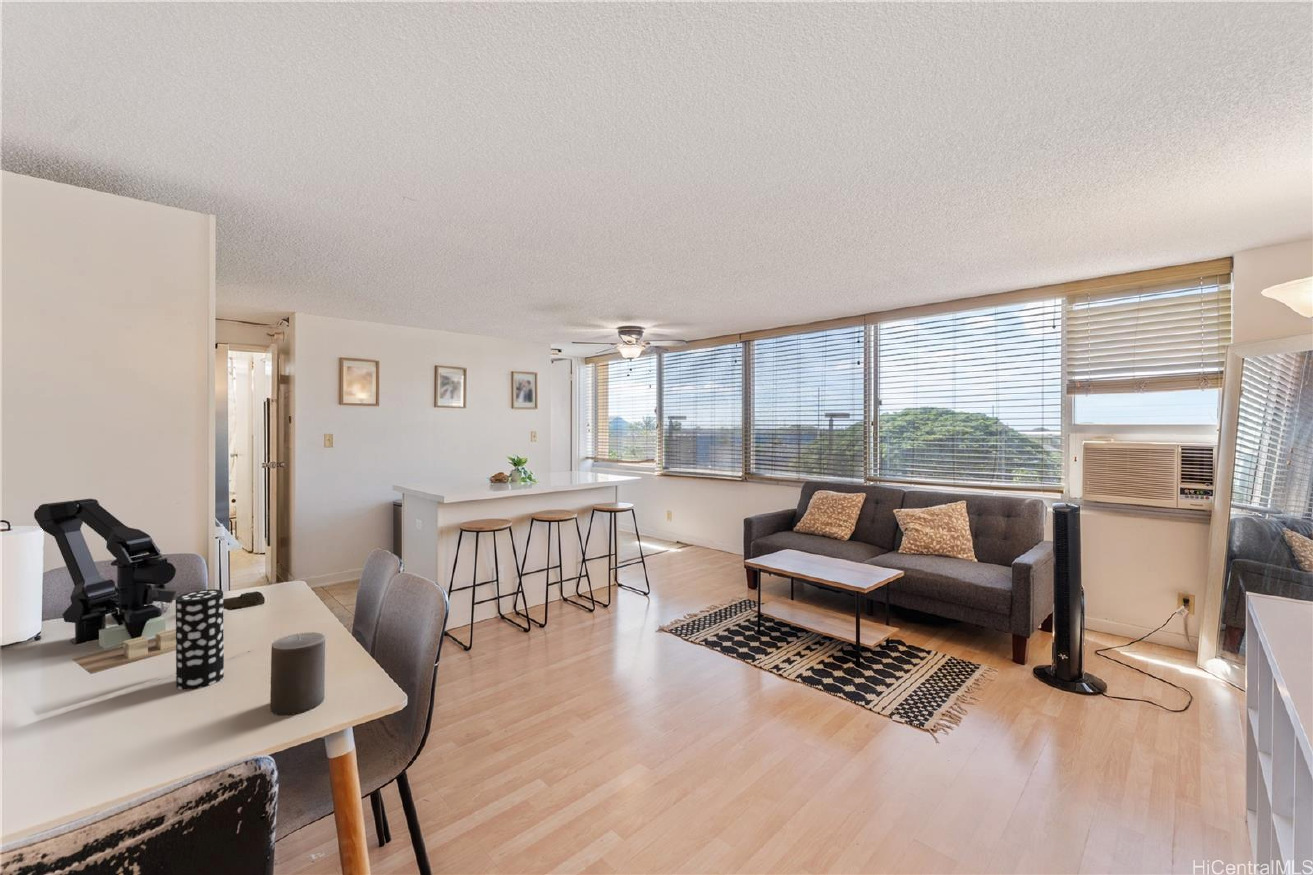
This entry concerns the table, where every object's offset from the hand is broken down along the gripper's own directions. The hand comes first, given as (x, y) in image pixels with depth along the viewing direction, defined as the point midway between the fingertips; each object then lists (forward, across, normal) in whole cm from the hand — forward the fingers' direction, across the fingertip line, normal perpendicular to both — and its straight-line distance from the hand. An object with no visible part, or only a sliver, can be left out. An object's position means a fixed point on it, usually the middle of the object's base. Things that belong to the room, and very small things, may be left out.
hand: (133, 640), depth 143 cm
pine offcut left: (0, -13, +3) cm, 13 cm away
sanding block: (+1, 0, 0) cm, 1 cm away
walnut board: (+1, -11, 0) cm, 11 cm away
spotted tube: (+2, -39, -1) cm, 39 cm away
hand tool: (+2, +11, -25) cm, 27 cm away
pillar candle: (+2, -68, -8) cm, 68 cm away
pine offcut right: (0, -13, -3) cm, 13 cm away
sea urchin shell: (+1, +26, -9) cm, 28 cm away
